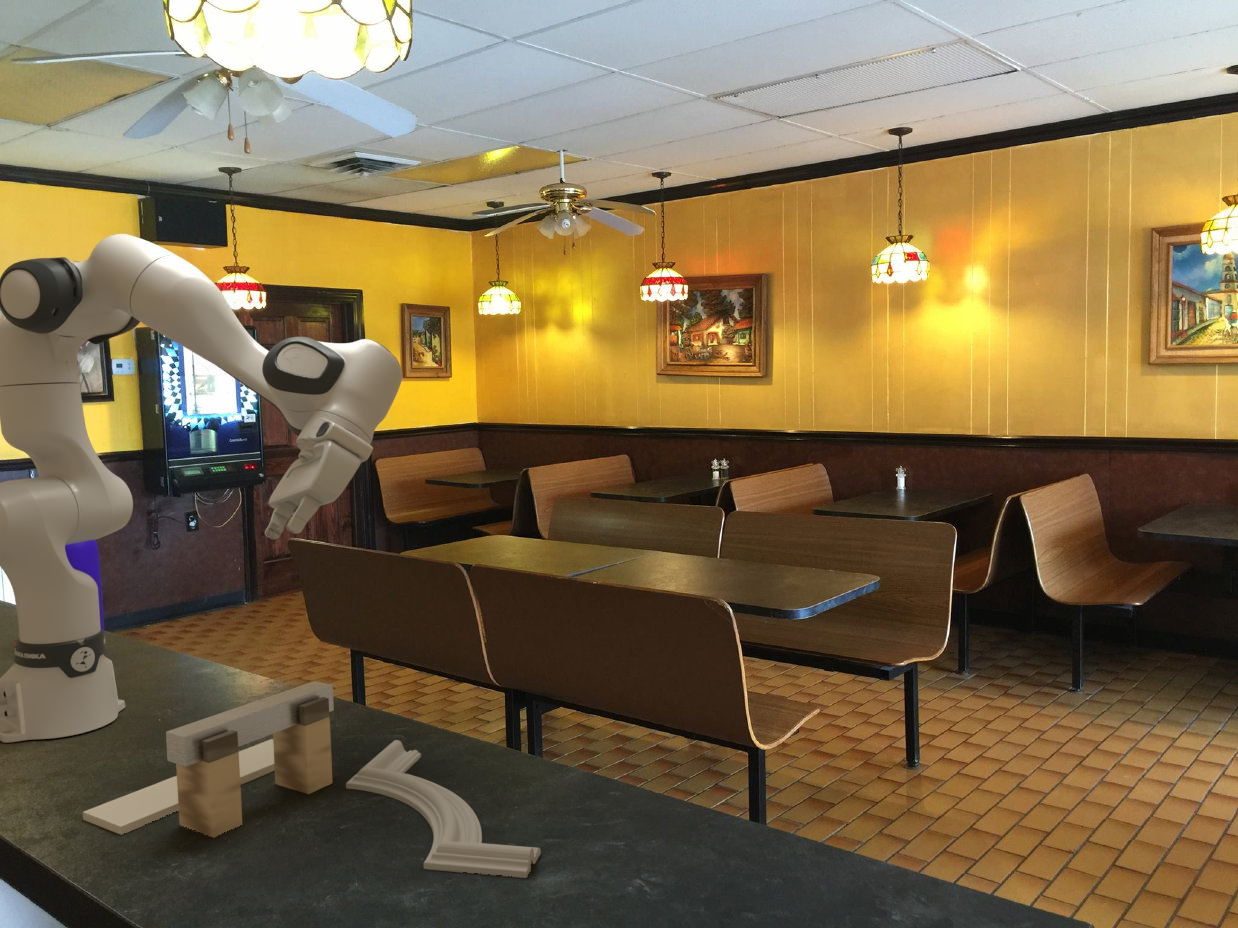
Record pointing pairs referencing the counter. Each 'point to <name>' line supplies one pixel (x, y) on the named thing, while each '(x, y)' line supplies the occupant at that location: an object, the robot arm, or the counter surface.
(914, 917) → the counter surface
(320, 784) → the post far
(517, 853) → the molding
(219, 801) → the post near
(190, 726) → the rail
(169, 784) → the plank
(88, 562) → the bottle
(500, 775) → the counter surface
